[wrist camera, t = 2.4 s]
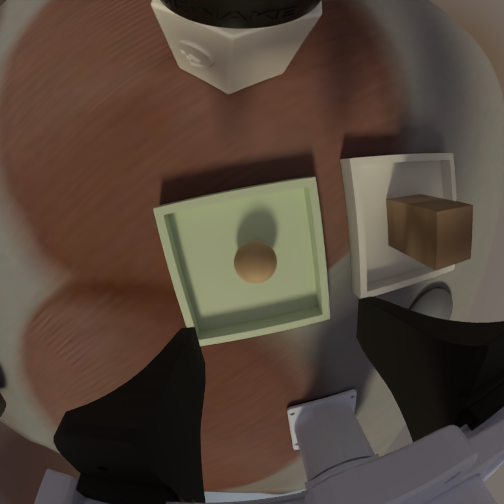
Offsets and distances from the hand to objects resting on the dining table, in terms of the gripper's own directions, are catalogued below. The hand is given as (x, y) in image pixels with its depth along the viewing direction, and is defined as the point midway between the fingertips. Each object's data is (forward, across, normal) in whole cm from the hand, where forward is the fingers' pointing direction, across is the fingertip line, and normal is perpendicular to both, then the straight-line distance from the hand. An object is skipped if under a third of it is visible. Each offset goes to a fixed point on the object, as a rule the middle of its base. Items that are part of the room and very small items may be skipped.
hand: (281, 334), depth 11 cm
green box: (+10, +1, 0) cm, 10 cm away
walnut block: (+10, -13, -2) cm, 17 cm away
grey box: (+10, -13, -2) cm, 17 cm away
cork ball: (+10, 0, 0) cm, 10 cm away
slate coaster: (+10, -18, +10) cm, 23 cm away
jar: (+11, 0, -17) cm, 20 cm away
